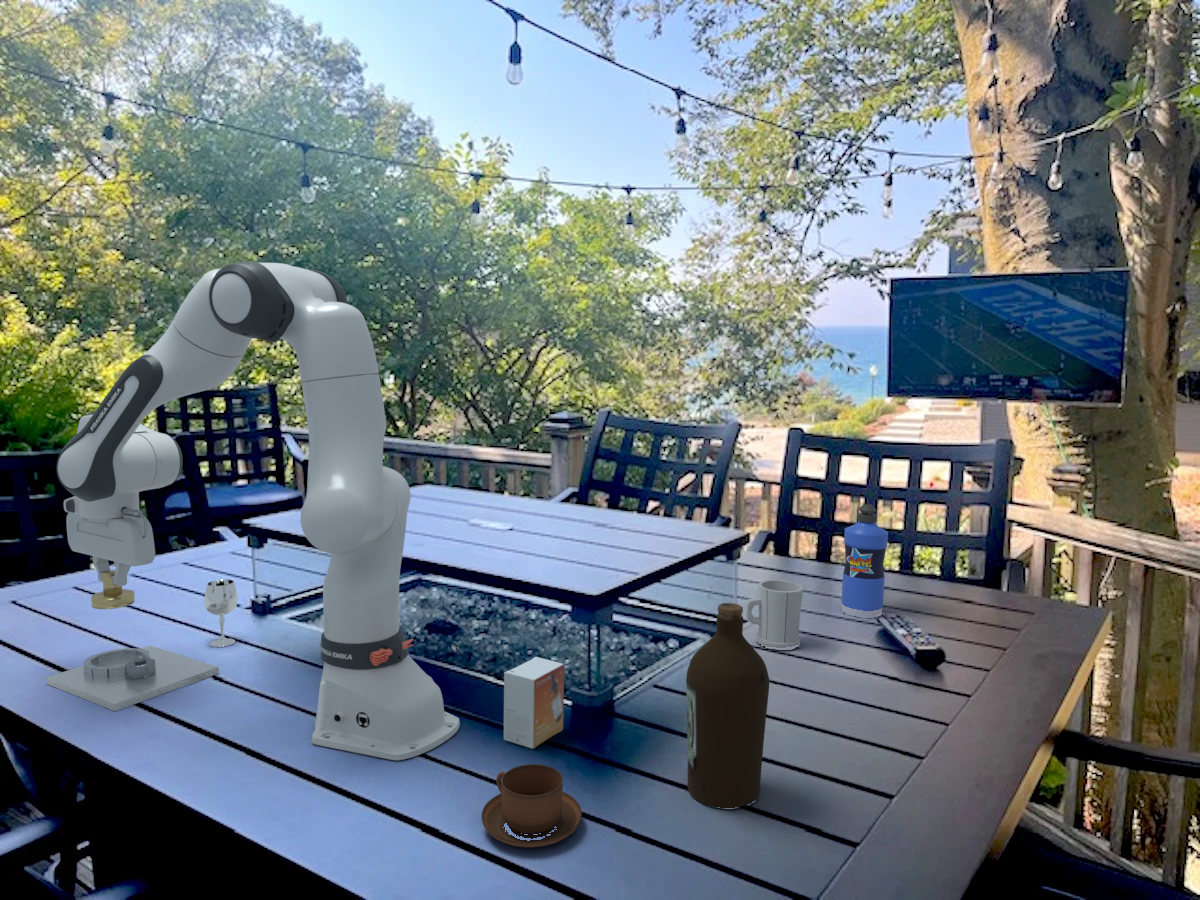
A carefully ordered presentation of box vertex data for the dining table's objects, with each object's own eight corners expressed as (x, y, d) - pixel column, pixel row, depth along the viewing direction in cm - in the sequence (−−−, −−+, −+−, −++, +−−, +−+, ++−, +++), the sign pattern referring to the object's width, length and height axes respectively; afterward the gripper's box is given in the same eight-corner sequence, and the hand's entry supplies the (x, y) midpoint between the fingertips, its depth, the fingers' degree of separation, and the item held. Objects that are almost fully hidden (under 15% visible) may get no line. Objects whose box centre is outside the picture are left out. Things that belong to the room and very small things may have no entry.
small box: (532, 750, 116) (533, 680, 114) (502, 740, 119) (502, 671, 117) (564, 729, 122) (565, 663, 121) (534, 720, 125) (535, 655, 124)
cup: (777, 656, 155) (780, 596, 153) (740, 643, 161) (742, 585, 160) (809, 645, 161) (812, 587, 160) (772, 633, 168) (774, 577, 167)
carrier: (218, 673, 141) (218, 649, 141) (114, 711, 126) (113, 684, 125) (150, 651, 151) (149, 628, 150) (46, 683, 135) (45, 658, 135)
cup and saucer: (462, 843, 93) (462, 793, 93) (510, 792, 105) (510, 747, 104) (557, 868, 89) (557, 816, 89) (596, 812, 100) (597, 765, 100)
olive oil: (763, 774, 110) (771, 597, 107) (765, 817, 100) (774, 622, 97) (685, 766, 112) (691, 592, 109) (679, 808, 101) (686, 616, 99)
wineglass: (226, 649, 153) (224, 587, 151) (199, 646, 154) (197, 585, 153) (245, 639, 158) (243, 579, 157) (219, 636, 159) (217, 577, 158)
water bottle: (848, 603, 190) (853, 499, 187) (888, 611, 185) (894, 504, 182) (834, 613, 183) (840, 504, 180) (875, 621, 177) (882, 509, 174)
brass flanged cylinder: (142, 601, 141) (141, 570, 140) (106, 611, 135) (105, 579, 134) (119, 596, 143) (118, 565, 143) (83, 605, 138) (81, 573, 137)
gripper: (164, 508, 135) (166, 588, 137) (95, 495, 145) (98, 570, 146) (126, 514, 130) (129, 597, 131) (57, 500, 139) (61, 578, 141)
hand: (112, 583), depth 139 cm, fingers closed on brass flanged cylinder, 3 cm apart
